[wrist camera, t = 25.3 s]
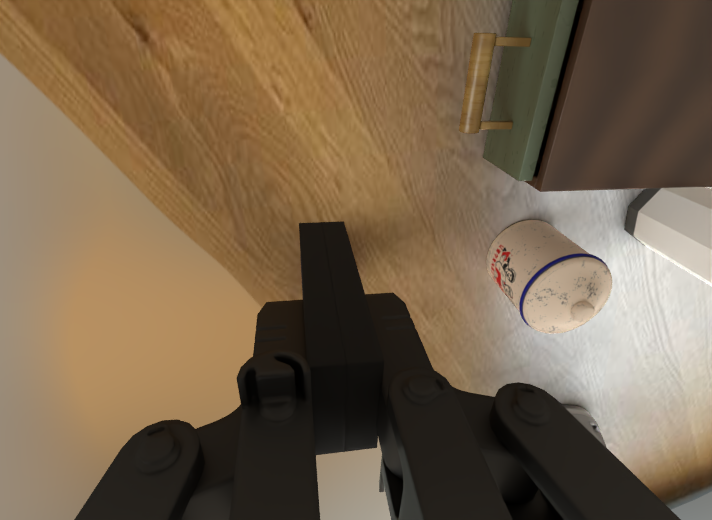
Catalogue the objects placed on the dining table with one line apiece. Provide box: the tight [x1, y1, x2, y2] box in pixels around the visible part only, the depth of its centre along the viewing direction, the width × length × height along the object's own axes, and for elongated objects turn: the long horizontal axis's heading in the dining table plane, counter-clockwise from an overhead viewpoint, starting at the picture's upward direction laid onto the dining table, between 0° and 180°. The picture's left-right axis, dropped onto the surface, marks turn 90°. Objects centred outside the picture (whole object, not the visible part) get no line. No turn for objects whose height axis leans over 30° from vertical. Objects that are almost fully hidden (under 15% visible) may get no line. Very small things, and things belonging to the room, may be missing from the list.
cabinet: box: [525, 0, 712, 192], centre depth 33 cm, size 17×15×9 cm
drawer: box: [459, 0, 584, 181], centre depth 32 cm, size 20×14×7 cm
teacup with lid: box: [486, 220, 612, 334], centre depth 41 cm, size 12×9×12 cm
